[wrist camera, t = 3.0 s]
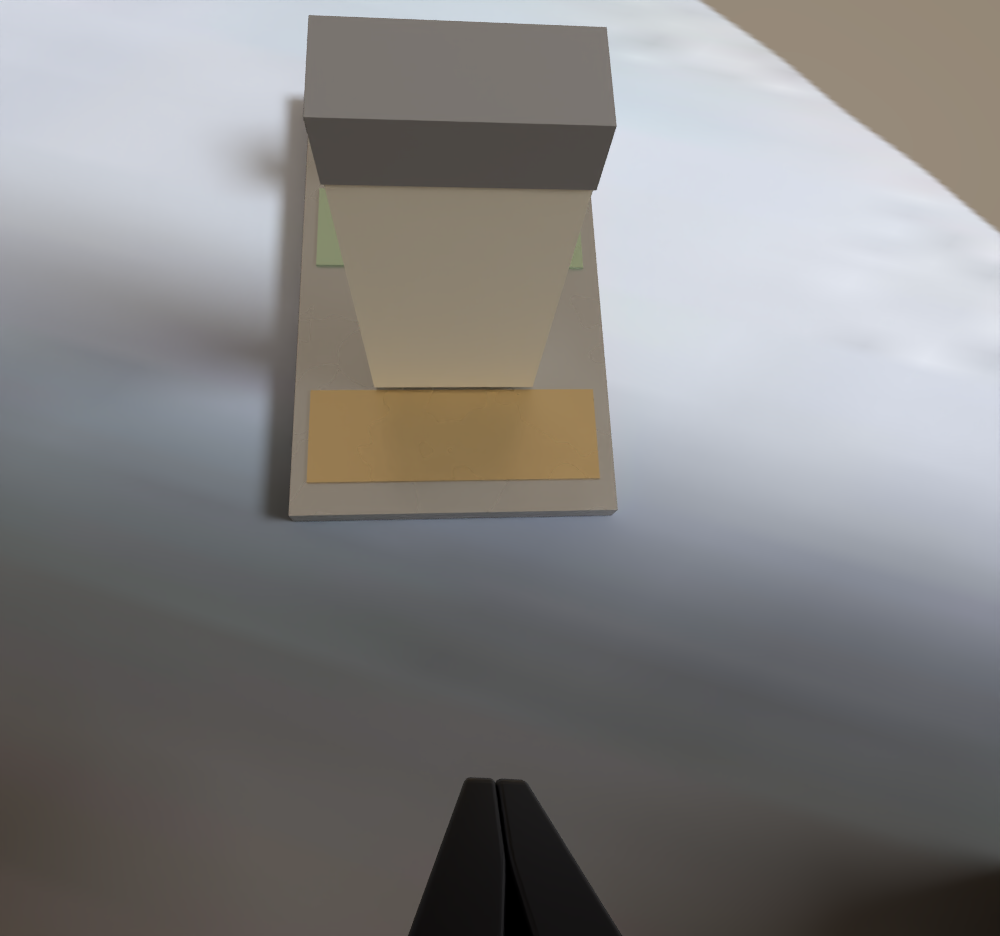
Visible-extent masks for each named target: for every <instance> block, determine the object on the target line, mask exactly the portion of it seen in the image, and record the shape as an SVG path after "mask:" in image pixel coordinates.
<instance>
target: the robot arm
mask: <svg viewBox="0 0 1000 936" xmlns="http://www.w3.org/2000/svg"><path fill="white" fill-rule="evenodd" d="M408 936H622V935H621V933H620V932H619V930H618V929H617V927H616V925H615V924H614V922H613V921H612V919H611V917H610V916H609V914H608V913H607V911H606V909H605V908H604V906H603V904H602V903H601V901H600V900H599V898H598V896H597V895H596V893H595V892H594V890H593V888H592V887H591V885H590V884H589V882H588V880H587V879H586V877H585V875H584V874H583V872H582V871H581V869H580V867H579V866H578V864H577V863H576V861H575V859H574V858H573V856H572V854H571V853H570V851H569V850H568V848H567V846H566V845H565V843H564V842H563V840H562V838H561V837H560V835H559V834H558V832H557V830H556V829H555V827H554V825H553V824H552V822H551V821H550V819H549V817H548V816H547V814H546V813H545V811H544V809H543V808H542V806H541V805H540V803H539V801H538V800H537V798H536V796H535V795H534V793H533V792H532V790H531V788H530V787H529V785H528V784H527V783H526V782H525V781H523V780H517V779H499V780H497V781H496V783H495V782H494V780H493V779H490V778H472V777H470V778H467V779H466V780H465V781H464V784H463V786H462V789H461V792H460V795H459V797H458V800H457V803H456V806H455V808H454V811H453V814H452V817H451V819H450V822H449V825H448V828H447V830H446V833H445V836H444V839H443V841H442V844H441V847H440V850H439V852H438V855H437V858H436V860H435V863H434V866H433V869H432V871H431V874H430V877H429V880H428V882H427V885H426V888H425V891H424V893H423V896H422V899H421V902H420V904H419V907H418V910H417V913H416V915H415V918H414V921H413V924H412V926H411V929H410V932H409V935H408Z"/></svg>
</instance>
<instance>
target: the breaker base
mask: <svg viewBox="0 0 1000 936" xmlns="http://www.w3.org/2000/svg"><path fill="white" fill-rule="evenodd" d="M617 510H618V509H617V497H616V485H615V474H614V462H613V450H612V439H611V427H610V415H609V403H608V392H607V380H606V368H605V357H604V345H603V333H602V322H601V310H600V298H599V287H598V275H597V263H596V252H595V240H594V228H593V217H592V205H591V198H590V201H589V204H588V208H587V211H586V214H585V217H584V221H583V224H582V227H581V231H580V234H579V237H578V240H577V244H576V247H575V250H574V253H573V257H572V260H571V263H570V266H569V270H568V273H567V276H566V279H565V283H564V286H563V289H562V292H561V296H560V299H559V302H558V306H557V309H556V312H555V315H554V319H553V322H552V325H551V328H550V332H549V335H548V338H547V341H546V345H545V348H544V351H543V354H542V358H541V361H540V364H539V368H538V371H537V374H536V377H535V381H534V384H533V387H374V384H373V380H372V376H371V372H370V368H369V364H368V360H367V356H366V352H365V348H364V344H363V340H362V336H361V332H360V328H359V324H358V320H357V316H356V312H355V308H354V304H353V300H352V296H351V292H350V288H349V284H348V279H347V275H346V271H345V267H344V263H343V259H342V255H341V251H340V247H339V243H338V239H337V235H336V231H335V227H334V223H333V219H332V215H331V211H330V207H329V203H328V199H327V195H326V191H325V187H324V185H320V181H319V177H318V173H317V169H316V165H315V161H314V157H313V154H312V150H311V146H310V142H309V138H308V145H307V165H306V184H305V204H304V224H303V243H302V263H301V283H300V302H299V322H298V342H297V361H296V381H295V401H294V420H293V440H292V460H291V479H290V499H289V517H290V518H291V519H292V520H293V521H341V520H393V519H446V518H498V517H551V516H603V515H613V514H614V513H615V512H616V511H617Z"/></svg>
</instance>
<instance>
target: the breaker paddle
mask: <svg viewBox="0 0 1000 936" xmlns="http://www.w3.org/2000/svg"><path fill="white" fill-rule="evenodd" d="M303 118H304V122H305V126H306V130H307V134H308V138H309V142H310V146H311V150H312V154H313V157H314V161H315V165H316V169H317V173H318V177H319V181H320V185H324V187H325V191H326V195H327V199H328V203H329V207H330V211H331V215H332V219H333V223H334V227H335V231H336V235H337V239H338V243H339V247H340V251H341V255H342V259H343V263H344V267H345V271H346V275H347V279H348V284H349V288H350V292H351V296H352V300H353V304H354V308H355V312H356V316H357V320H358V324H359V328H360V332H361V336H362V340H363V344H364V348H365V352H366V356H367V360H368V364H369V368H370V372H371V376H372V380H373V384H374V387H533V384H534V381H535V377H536V374H537V371H538V368H539V364H540V361H541V358H542V354H543V351H544V348H545V345H546V341H547V338H548V335H549V332H550V328H551V325H552V322H553V319H554V315H555V312H556V309H557V306H558V302H559V299H560V296H561V292H562V289H563V286H564V283H565V279H566V276H567V273H568V270H569V266H570V263H571V260H572V257H573V253H574V250H575V247H576V244H577V240H578V237H579V234H580V231H581V227H582V224H583V221H584V217H585V214H586V211H587V208H588V204H589V201H590V198H591V195H592V191H593V190H597V187H598V183H599V180H600V177H601V174H602V171H603V167H604V164H605V161H606V158H607V155H608V152H609V148H610V145H611V142H612V139H613V136H614V132H615V129H616V116H615V106H614V96H613V86H612V77H611V67H610V57H609V47H608V37H607V27H587V26H562V25H538V24H513V23H488V22H463V21H439V20H414V19H389V18H364V17H340V16H315V15H309V18H308V37H307V55H306V74H305V92H304V111H303Z"/></svg>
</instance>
